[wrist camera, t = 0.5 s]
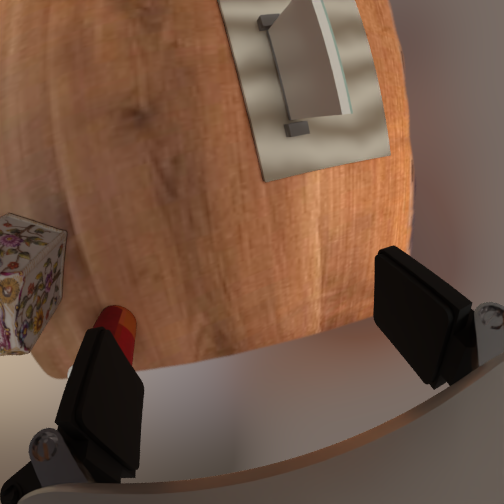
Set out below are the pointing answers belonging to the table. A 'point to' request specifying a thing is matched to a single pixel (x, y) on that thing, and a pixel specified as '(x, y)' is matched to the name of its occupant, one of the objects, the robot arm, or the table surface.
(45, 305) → the decorative jar
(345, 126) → the tile board
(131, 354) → the coffee cup
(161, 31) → the table surface
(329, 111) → the glazed tile
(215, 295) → the table surface
